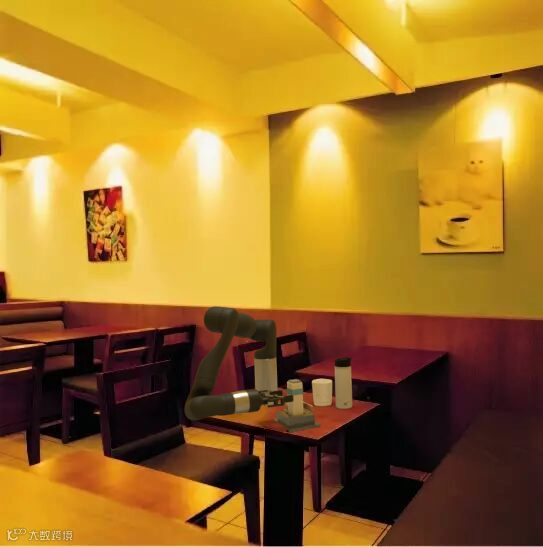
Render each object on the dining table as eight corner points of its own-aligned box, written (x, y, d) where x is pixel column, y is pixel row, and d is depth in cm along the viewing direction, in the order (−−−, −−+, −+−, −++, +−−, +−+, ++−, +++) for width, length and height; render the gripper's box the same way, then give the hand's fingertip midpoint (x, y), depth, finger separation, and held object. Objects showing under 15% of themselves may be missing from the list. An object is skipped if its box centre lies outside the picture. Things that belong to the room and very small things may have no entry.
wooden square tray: (283, 411, 213) (283, 403, 212) (304, 408, 216) (303, 400, 216) (293, 417, 204) (293, 409, 204) (315, 413, 208) (314, 405, 208)
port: (271, 422, 199) (271, 411, 199) (301, 417, 204) (301, 406, 204) (289, 432, 186) (288, 420, 186) (320, 427, 191) (320, 415, 191)
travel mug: (349, 412, 208) (347, 359, 208) (333, 410, 212) (331, 358, 211) (355, 408, 214) (354, 356, 213) (339, 406, 217) (338, 355, 217)
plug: (288, 421, 196) (286, 380, 196) (298, 419, 198) (297, 378, 197) (293, 424, 192) (291, 382, 192) (304, 422, 194) (302, 380, 194)
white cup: (332, 403, 222) (332, 378, 221) (333, 409, 214) (332, 383, 213) (313, 403, 222) (312, 379, 222) (312, 409, 214) (311, 383, 214)
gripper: (252, 394, 180) (296, 388, 187) (236, 386, 193) (278, 381, 200) (252, 417, 180) (297, 410, 187) (237, 408, 193) (279, 401, 200)
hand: (287, 395), depth 194 cm, fingers open, 8 cm apart
